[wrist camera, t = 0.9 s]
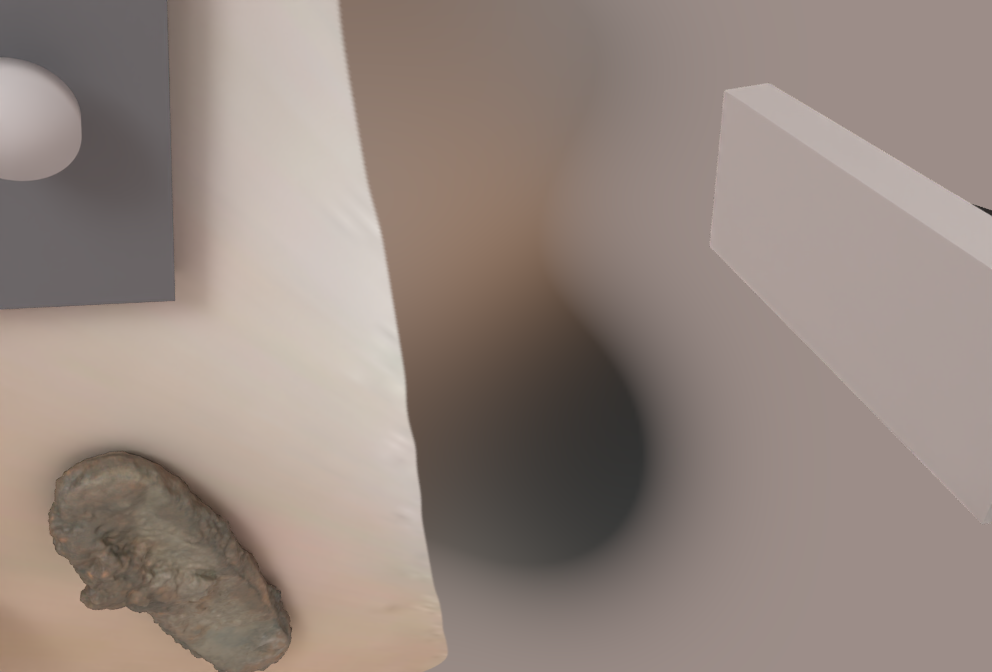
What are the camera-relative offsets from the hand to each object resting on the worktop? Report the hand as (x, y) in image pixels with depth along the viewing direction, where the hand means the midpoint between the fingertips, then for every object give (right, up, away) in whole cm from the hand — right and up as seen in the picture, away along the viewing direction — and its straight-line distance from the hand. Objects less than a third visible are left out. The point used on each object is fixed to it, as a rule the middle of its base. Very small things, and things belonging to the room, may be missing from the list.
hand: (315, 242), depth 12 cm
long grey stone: (-21, -19, +52) cm, 59 cm away
